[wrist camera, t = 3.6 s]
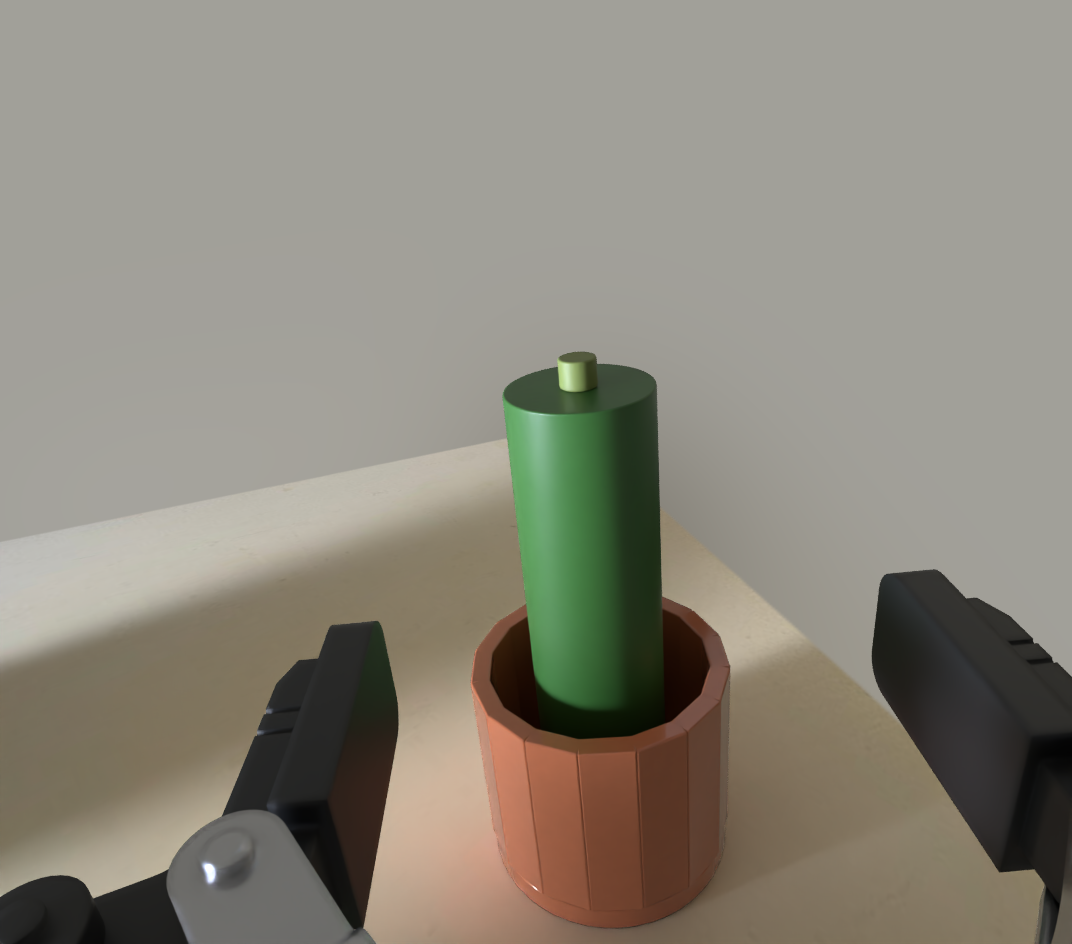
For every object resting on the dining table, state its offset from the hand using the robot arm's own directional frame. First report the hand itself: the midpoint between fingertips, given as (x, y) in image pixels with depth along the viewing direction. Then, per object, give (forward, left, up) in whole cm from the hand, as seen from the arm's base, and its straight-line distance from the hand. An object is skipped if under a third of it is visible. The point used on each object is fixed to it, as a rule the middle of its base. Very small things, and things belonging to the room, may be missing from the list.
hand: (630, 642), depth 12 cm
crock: (+4, -8, -14) cm, 17 cm away
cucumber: (+4, -8, -14) cm, 16 cm away
